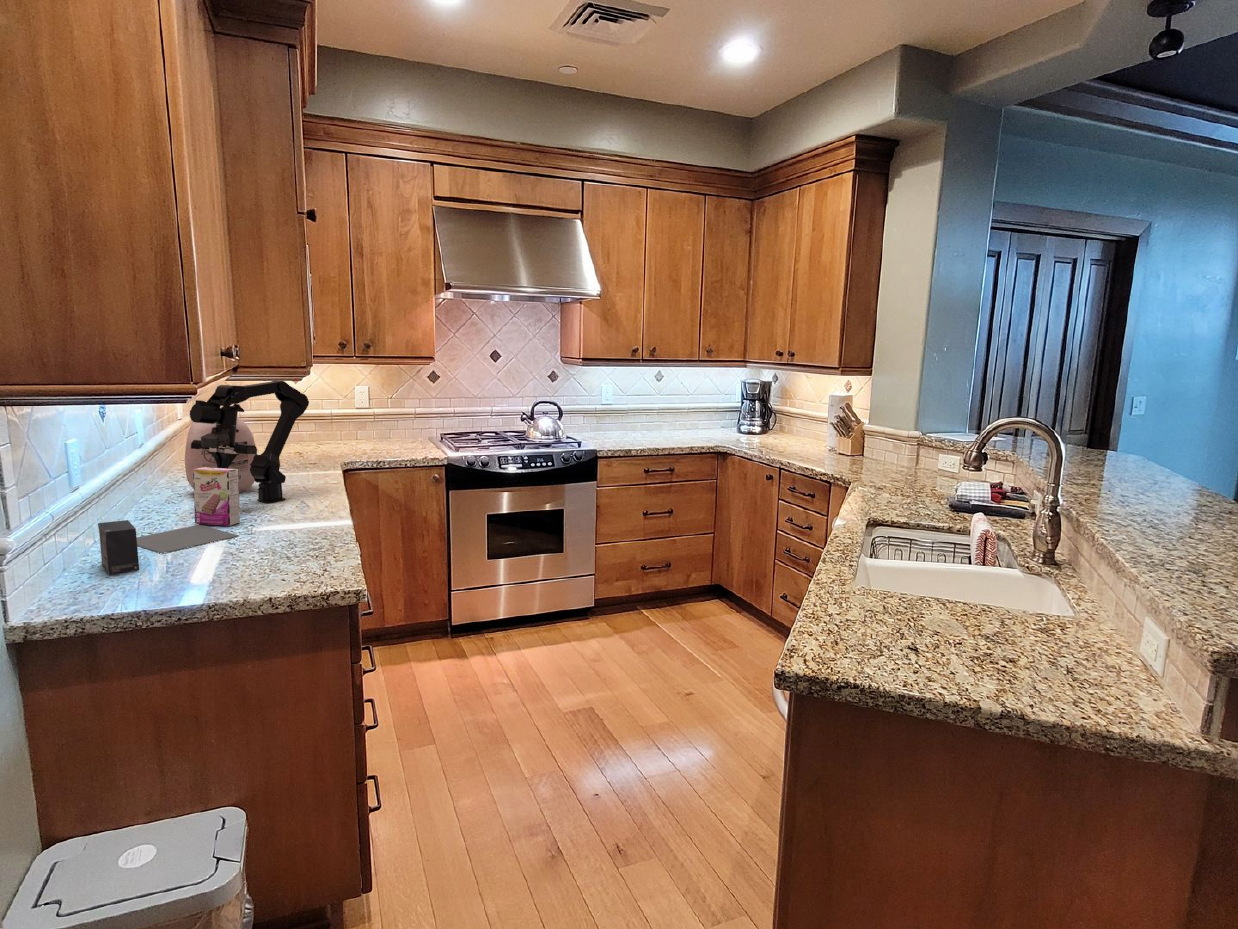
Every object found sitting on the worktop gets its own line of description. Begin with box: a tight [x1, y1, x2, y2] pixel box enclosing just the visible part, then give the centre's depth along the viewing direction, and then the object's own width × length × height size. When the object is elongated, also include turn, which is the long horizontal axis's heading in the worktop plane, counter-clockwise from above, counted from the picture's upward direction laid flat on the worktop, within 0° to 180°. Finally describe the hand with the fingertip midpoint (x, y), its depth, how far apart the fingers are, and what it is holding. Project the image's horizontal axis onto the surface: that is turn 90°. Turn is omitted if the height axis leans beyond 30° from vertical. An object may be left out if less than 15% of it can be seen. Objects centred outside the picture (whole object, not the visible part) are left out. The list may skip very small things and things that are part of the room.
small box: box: [97, 519, 140, 576], centre depth 166 cm, size 11×6×10 cm, turn 43°
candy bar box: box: [193, 467, 241, 527], centre depth 205 cm, size 11×5×16 cm, turn 84°
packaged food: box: [184, 416, 256, 492], centre depth 243 cm, size 22×20×30 cm
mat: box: [136, 524, 240, 554], centre depth 191 cm, size 20×20×1 cm
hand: (221, 474), depth 219 cm, fingers closed
